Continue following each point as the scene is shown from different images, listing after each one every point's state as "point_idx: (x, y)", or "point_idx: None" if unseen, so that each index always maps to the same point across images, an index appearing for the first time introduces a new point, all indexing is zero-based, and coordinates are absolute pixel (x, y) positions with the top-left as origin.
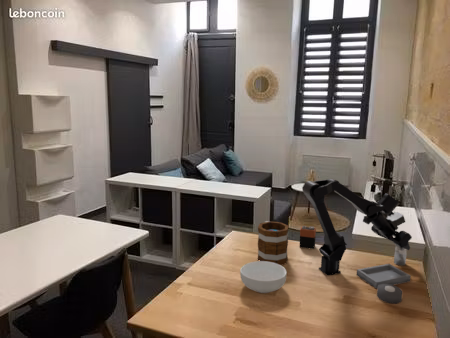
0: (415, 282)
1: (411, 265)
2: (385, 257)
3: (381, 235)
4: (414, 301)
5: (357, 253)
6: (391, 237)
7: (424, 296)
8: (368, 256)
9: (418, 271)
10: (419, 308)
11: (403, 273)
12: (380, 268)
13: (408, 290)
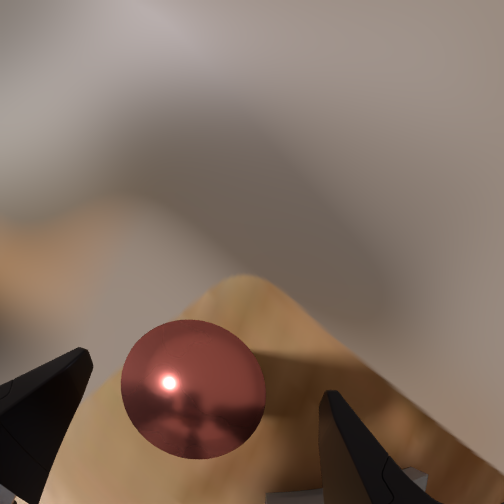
0: (424, 446)
1: (272, 333)
2: None
3: (34, 493)
4: (483, 501)
5: None
6: (60, 393)
7: (486, 461)
8: (88, 455)
9: (349, 355)
10: (500, 497)
11: None
12: None
13: (446, 499)
